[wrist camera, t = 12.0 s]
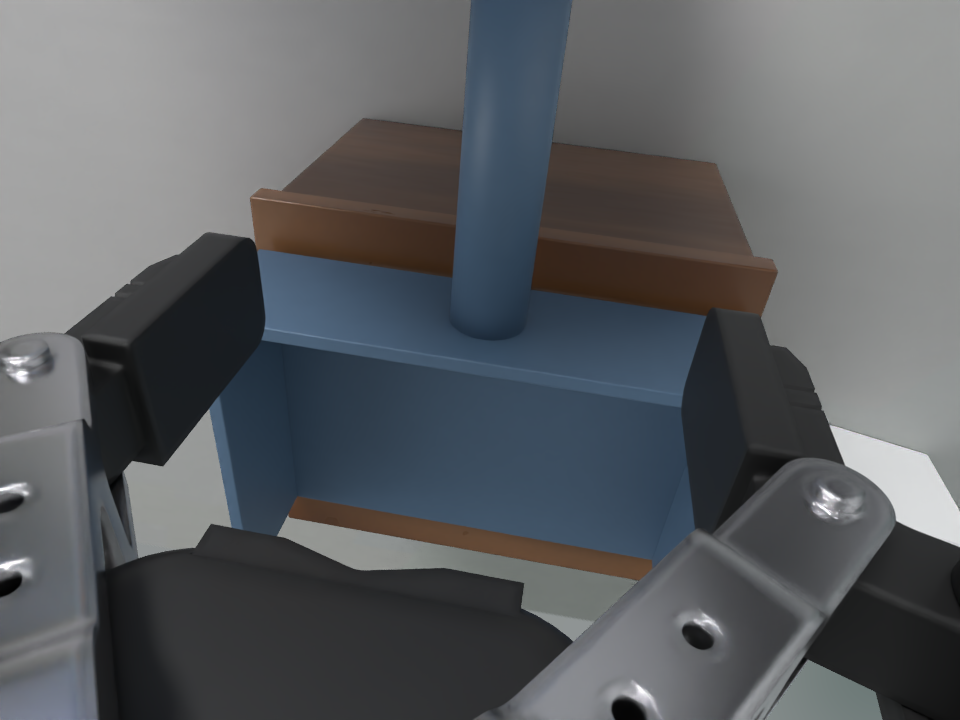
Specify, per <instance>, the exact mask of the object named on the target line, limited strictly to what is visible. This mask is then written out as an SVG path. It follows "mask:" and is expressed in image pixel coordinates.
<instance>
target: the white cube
mask: <svg viewBox="0 0 960 720" xmlns="http://www.w3.org/2000/svg"><path fill="white" fill-rule="evenodd" d="M829 426H830V428H831V431H832V433H833V436H834V438H835V441H836V443H837V446H838V448H839V451H840V453H841V456H842V458H843V461H844V463H845V466H847V467H849V468H851V469H853V470H855V471H857V472H859V473H860V474H862V475H864V476H865V477H867V478H868V479H869V480H871V481H872V482H873V483H875V484H876V485H877V486H878V487H879V488H880V489H881V490H882V491H883V492H884V493H885V495H886V496H887V497H888V499H889V500H890V502H891V503H892V505H893V508H894V510H895V515H896V521H898V522H900V523H901V524H903V525H905V526H908V527H910V528H912V529H915V530H917V531H920V532H922V533H925V534H927V535H930V536H932V537H935V538H937V539H940V540H943V541H945V542H948V543H950V544H953V545H955V546H958V547H960V511H959V509H958V507H957V505H956V504H955V502H954V500H953V498H952V497H951V495H950V493H949V492H948V490H947V488H946V486H945V485H944V483H943V481H942V479H941V478H940V476H939V474H938V472H937V471H936V469H935V467H934V465H933V464H932V462H931V460H930V459H929V457H928V455H927V454H924V453H920V452H917V451H914V450H911V449H907V448H904V447H901V446H898V445H894V444H891V443H888V442H885V441H881V440H878V439H875V438H871V437H868V436H865V435H862V434H858V433H855V432H852V431H849V430H845V429H842V428H839V427H836V426H832V425H829Z"/></svg>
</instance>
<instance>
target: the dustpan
mask: <svg viewBox="0 0 960 720" xmlns="http://www.w3.org/2000/svg"><path fill="white" fill-rule="evenodd" d="M571 6H572V0H471V10H470V25H469V40H468V55H467V70H466V84H465V99H464V114H463V129H462V144H461V159H460V174H459V188H458V203H457V218H456V233H455V248H454V263H453V278H450V277H443V276H436V275H430V274H423V273H416V272H410V271H403V270H396V269H389V268H383V267H376V266H369V265H363V264H356V263H349V262H343V261H336V260H329V259H323V258H316V257H309V256H303V255H296V254H289V253H283V252H276V251H269V250H263V249H259V250H258V251H257V253H258V260H259V268H260V275H261V283H262V291H263V299H264V307H265V316H266V320H265V329H264V333H263V337H262V340H261V342H260V344H259V346H258V347H257V349H256V350H255V351H254V352H253V354H252V355H251V356H250V357H249V359H248V360H247V361H246V362H245V364H244V365H243V366H242V368H241V369H240V370H239V371H238V373H237V374H236V375H235V376H234V378H233V379H232V380H231V381H230V383H229V384H228V385H227V386H226V388H225V389H224V390H223V392H222V393H221V394H220V395H219V397H218V398H217V399H216V400H215V402H214V403H213V404H212V405H211V407H210V408H209V410H210V415H211V420H212V426H213V431H214V436H215V441H216V447H217V452H218V457H219V462H220V468H221V473H222V478H223V484H224V489H225V494H226V499H227V505H228V510H229V515H230V520H231V526H232V528H235V529H240V530H245V531H251V532H256V533H261V534H267V535H272V536H277V534H278V533H279V531H280V529H281V527H282V525H283V523H284V521H285V519H286V517H287V515H288V513H289V511H290V510H291V508H292V506H293V504H294V502H295V500H296V498H297V496H299V497H304V498H310V499H315V500H321V501H327V502H332V503H338V504H343V505H349V506H354V507H360V508H365V509H371V510H377V511H382V512H388V513H393V514H399V515H404V516H410V517H415V518H421V519H427V520H432V521H438V522H443V523H449V524H454V525H460V526H466V527H471V528H477V529H482V530H488V531H493V532H499V533H504V534H510V535H516V536H521V537H527V538H532V539H538V540H543V541H549V542H555V543H560V544H566V545H571V546H577V547H582V548H588V549H593V550H599V551H605V552H610V553H616V554H621V555H627V556H632V557H638V558H644V559H649V560H652V568H653V567H654V566H656V565H657V564H658V563H659V562H660V561H661V560H662V559H663V558H664V557H665V556H666V555H667V554H668V553H670V552H671V551H672V550H673V549H674V548H675V547H676V546H677V545H678V544H679V543H680V542H681V541H682V540H684V539H685V538H686V537H687V536H688V535H689V534H690V533H692V532H693V531H694V530H695V525H694V516H693V508H692V500H691V492H690V484H689V475H688V467H687V459H686V451H685V442H684V434H683V426H682V417H681V406H682V397H683V391H684V386H685V382H686V379H687V376H688V373H689V370H690V366H691V363H692V360H693V357H694V354H695V351H696V347H697V344H698V341H699V338H700V335H701V332H702V328H703V325H704V322H705V319H706V317H707V316H703V315H697V314H690V313H683V312H677V311H670V310H663V309H657V308H650V307H643V306H637V305H630V304H623V303H617V302H610V301H603V300H596V299H590V298H583V297H576V296H570V295H563V294H556V293H550V292H543V291H536V290H531V284H532V277H533V270H534V263H535V256H536V249H537V242H538V235H539V228H540V221H541V214H542V207H543V200H544V193H545V187H546V180H547V173H548V166H549V159H550V152H551V145H552V138H553V131H554V124H555V117H556V110H557V103H558V96H559V89H560V82H561V75H562V68H563V61H564V55H565V48H566V41H567V34H568V27H569V20H570V13H571Z"/></svg>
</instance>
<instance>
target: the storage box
mask: <svg viewBox="0 0 960 720" xmlns="http://www.w3.org/2000/svg"><path fill="white" fill-rule="evenodd" d="M461 144H462V131H458V130H450V129H443V128H435V127H427V126H419V125H411V124H404V123H396V122H388V121H380V120H373V119H365V118H363V119H362V120H360V121H359V122H358V123H357V124H356V125H355V126H354V127H353V128H351V129H350V130H349V131H348V132H347V133H346V134H345V135H344V136H342V137H341V138H340V139H339V140H338V141H337V142H336V143H335V144H333V145H332V146H331V147H330V148H329V149H328V150H327V151H326V152H324V153H323V154H322V155H321V156H320V157H319V158H318V159H317V160H315V161H314V162H313V163H312V164H311V165H310V166H309V167H308V168H306V169H305V170H304V171H303V172H302V173H301V174H300V175H299V176H297V177H296V178H295V179H294V180H293V181H292V182H291V183H290V184H288V185H287V186H286V187H285V188H284V189H283V190H282V191H278V190H271V189H264V188H261V189H259V190H258V191H257V192H256V193H255V194H253V195H252V196H251V197H250V202H251V210H252V218H253V226H254V235H255V243H256V248H257V251H258V250H259V249H263V250H269V251H276V252H283V253H289V254H296V255H303V256H309V257H316V258H323V259H329V260H336V261H343V262H349V263H356V264H363V265H369V266H376V267H383V268H389V269H396V270H403V271H410V272H416V273H423V274H430V275H436V276H443V277H450V278H453V263H454V248H455V233H456V218H457V203H458V188H459V174H460V159H461ZM777 273H778V270H777V268H776V266H775V264H774V261H773V260H772V259H768V258H760V257H754V256H753V254H752V251H751V249H750V246H749V244H748V242H747V239H746V237H745V234H744V232H743V229H742V227H741V224H740V222H739V219H738V217H737V215H736V212H735V210H734V207H733V205H732V202H731V200H730V197H729V195H728V192H727V190H726V188H725V185H724V183H723V180H722V178H721V175H720V173H719V170H718V168H717V165H716V164H715V163H708V162H700V161H692V160H684V159H676V158H669V157H661V156H653V155H645V154H637V153H630V152H622V151H614V150H606V149H598V148H591V147H583V146H575V145H567V144H560V143H552V145H551V152H550V159H549V166H548V173H547V180H546V187H545V193H544V200H543V207H542V214H541V221H540V228H539V235H538V242H537V249H536V256H535V263H534V270H533V277H532V284H531V290H536V291H543V292H550V293H556V294H563V295H570V296H576V297H583V298H590V299H596V300H603V301H610V302H617V303H623V304H630V305H637V306H643V307H650V308H657V309H663V310H670V311H677V312H683V313H690V314H697V315H703V316H707V314H708V312H709V311H710V309H711V308H713V307H715V308H721V309H728V310H735V311H742V312H749V313H755V314H759V316H760V318H761V316H762V313H763V311H764V308H765V305H766V303H767V300H768V297H769V295H770V292H771V289H772V287H773V284H774V281H775V279H776V276H777ZM288 516H289V517H290V518H295V519H301V520H306V521H312V522H317V523H323V524H328V525H334V526H339V527H345V528H351V529H356V530H362V531H367V532H373V533H378V534H384V535H389V536H395V537H400V538H406V539H412V540H417V541H423V542H428V543H434V544H439V545H445V546H450V547H456V548H461V549H467V550H472V551H478V552H484V553H489V554H495V555H500V556H506V557H511V558H517V559H522V560H528V561H533V562H539V563H545V564H550V565H556V566H561V567H567V568H572V569H578V570H583V571H589V572H594V573H600V574H606V575H611V576H617V577H622V578H628V579H633V580H640V579H642V578H643V577H644V576H645V575H646V574H647V573H648V572H649V571H650V570H651V569H652V560H649V559H644V558H638V557H632V556H627V555H621V554H616V553H610V552H605V551H599V550H593V549H588V548H582V547H577V546H571V545H566V544H560V543H555V542H549V541H543V540H538V539H532V538H527V537H521V536H516V535H510V534H504V533H499V532H493V531H488V530H482V529H477V528H471V527H466V526H460V525H454V524H449V523H443V522H438V521H432V520H427V519H421V518H415V517H410V516H404V515H399V514H393V513H388V512H382V511H377V510H371V509H365V508H360V507H354V506H349V505H343V504H338V503H332V502H327V501H321V500H315V499H310V498H304V497H299V496H297V498H296V500H295V502H294V504H293V506H292V508H291V510H290V511H289V513H288Z"/></svg>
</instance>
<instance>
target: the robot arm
mask: <svg viewBox="0 0 960 720" xmlns="http://www.w3.org/2000/svg"><path fill="white" fill-rule="evenodd" d="M265 320H266V316H265V307H264V299H263V291H262V283H261V275H260V268H259V260H258V253H257V248H256V245H255V243H254V242H253V240H251V239H250V238H245V237H238V236H231V235H225V234H218V233H211V232H208V233H205V234H204V235H202V236H201V237H200V238H199V239H198V240H196V241H195V242H194V243H193V244H192V245H190V246H189V247H188V248H187V249H186V250H184V251H183V252H182V253H181V254H179V255H175V256H172V257H170V258H167V259H165V260H163V261H160V262H158V263H155V264H153V265H151V266H149V267H147V268H146V269H145V270H144V271H142V272H141V273H140V274H139V275H137V276H136V277H135V278H134V279H132V280H131V283H130V284H126V285H125V286H124V287H122V288H121V289H120V290H119V291H117V292H116V293H115V297H112V296H111V297H110V298H109V299H107V300H106V301H105V302H104V303H102V304H101V305H100V306H99V307H97V308H96V309H95V310H93V311H92V312H91V313H90V314H88V315H87V316H86V317H85V318H83V319H82V320H81V321H80V322H78V323H77V324H76V325H75V326H73V327H72V328H71V329H70V330H68V331H67V332H66V333H65V334H62V333H53V332H43V333H32V334H26V335H21V336H17V337H14V338H10V339H7V340H5V341H2V342H0V720H766V719H767V718H768V716H769V715H770V714H771V712H772V711H773V710H774V708H775V707H776V705H777V704H778V703H779V701H780V700H781V698H782V697H783V696H784V694H785V693H786V691H787V690H788V689H789V687H790V686H791V684H792V683H793V682H794V680H795V679H796V677H797V676H798V674H799V673H800V672H801V670H802V669H803V667H804V666H805V665H806V663H807V662H808V660H810V661H812V662H814V663H817V664H819V665H821V666H823V667H825V668H827V669H829V670H831V671H833V672H835V673H837V674H840V675H842V676H844V677H846V678H848V679H850V680H852V681H854V682H856V683H858V684H861V685H863V686H865V687H867V688H869V689H871V690H873V691H875V692H876V695H877V699H878V703H879V707H880V711H881V715H882V719H883V720H960V547H958V546H955V545H953V544H950V543H948V542H945V541H943V540H940V539H937V538H935V537H932V536H930V535H927V534H925V533H922V532H920V531H917V530H915V529H912V528H910V527H908V526H905V525H903V524H901V523H900V522H898V521H896V515H895V510H894V508H893V505H892V503H891V502H890V500H889V499H888V497H887V496H886V495H885V493H884V492H883V491H882V490H881V489H880V488H879V487H878V486H877V485H876V484H875V483H873V482H872V481H871V480H869V479H868V478H867V477H865V476H864V475H862V474H860V473H859V472H857V471H855V470H853V469H851V468H849V467H847V466H845V463H844V461H843V458H842V456H841V453H840V451H839V448H838V446H837V443H836V441H835V438H834V436H833V433H832V431H831V428H830V426H829V423H828V421H827V418H826V416H825V413H824V411H822V410H821V407H822V406H821V403H820V401H819V398H818V396H817V393H814V390H815V388H814V385H813V383H812V380H811V378H810V375H809V373H808V370H807V368H806V367H805V366H804V365H803V364H802V363H801V362H800V361H799V360H798V359H797V358H796V357H795V356H794V355H793V354H792V353H791V352H790V351H789V350H788V349H787V348H785V347H778V346H771V345H770V344H769V341H768V338H767V335H766V332H765V329H764V326H763V323H762V320H761V318H760V316H759V314H755V313H749V312H742V311H735V310H728V309H721V308H715V307H713V308H711V309H710V311H709V312H708V314H707V317H706V319H705V322H704V325H703V328H702V332H701V335H700V338H699V341H698V344H697V347H696V351H695V354H694V357H693V360H692V363H691V366H690V370H689V373H688V376H687V379H686V382H685V386H684V391H683V397H682V406H681V417H682V426H683V434H684V442H685V451H686V459H687V467H688V475H689V484H690V492H691V500H692V508H693V516H694V525H695V530H694V531H693V532H692V533H690V534H689V535H688V536H687V537H686V538H685V539H684V540H682V541H681V542H680V543H679V544H678V545H677V546H676V547H675V548H674V549H673V550H672V551H671V552H670V553H668V554H667V555H666V556H665V557H664V558H663V559H662V560H661V561H660V562H659V563H658V564H657V565H656V566H654V567H653V568H652V569H651V570H650V571H649V572H648V573H647V574H646V575H645V576H644V577H643V578H642V579H640V580H639V581H638V582H637V583H636V584H635V585H634V586H633V587H632V588H631V589H630V590H629V591H628V592H626V593H625V594H624V595H623V596H622V597H621V598H620V599H619V600H618V601H617V602H616V603H615V604H614V605H612V606H611V607H610V608H609V609H608V610H607V611H606V612H605V613H604V614H603V615H602V616H601V617H600V618H598V619H597V620H596V621H595V622H594V623H593V624H592V625H591V626H590V627H589V628H588V629H587V630H586V631H584V632H583V633H582V634H581V635H580V636H579V637H578V638H577V639H576V640H575V641H574V642H573V641H572V640H571V639H570V638H569V637H567V636H566V635H565V634H563V633H562V632H561V631H560V630H558V629H557V628H556V627H554V626H553V625H551V624H550V623H548V622H546V621H544V620H543V619H541V618H540V617H538V616H536V615H534V614H532V613H530V612H528V611H526V610H523V609H521V603H522V595H523V588H524V583H521V582H515V581H510V580H505V579H499V578H494V577H489V576H484V575H478V574H473V573H468V572H462V571H457V570H452V569H446V568H434V569H402V570H370V571H364V570H356V569H353V568H350V567H348V566H345V565H343V564H341V563H339V562H337V561H334V560H332V559H330V558H328V557H326V556H323V555H321V554H319V553H317V552H315V551H313V550H310V549H308V548H306V547H304V546H302V545H299V544H297V543H295V542H293V541H291V540H289V539H286V538H282V537H277V536H272V535H267V534H261V533H256V532H251V531H245V530H240V529H235V528H230V527H224V526H219V525H214V524H211V525H210V526H209V528H208V529H207V531H206V532H205V534H204V536H203V537H202V539H201V540H200V542H199V543H198V545H197V546H196V548H186V549H179V550H172V551H165V552H161V553H157V554H152V555H148V556H145V557H142V558H139V559H138V552H137V545H136V538H135V531H134V524H133V517H132V511H131V504H130V497H129V490H128V484H127V481H126V477H125V474H124V470H125V469H126V467H127V466H128V465H129V464H130V463H131V461H136V462H142V463H147V464H153V465H158V466H164V465H165V463H166V462H167V461H168V460H169V458H170V457H171V456H172V455H173V453H174V452H175V451H176V450H177V448H178V447H179V446H180V445H181V443H182V442H183V441H184V439H185V438H186V437H187V436H188V434H189V433H190V432H191V431H192V429H193V428H194V427H195V426H196V424H197V423H198V422H199V421H200V419H201V418H202V417H203V415H204V414H205V413H206V412H207V410H208V409H209V408H210V407H211V405H212V404H213V403H214V402H215V400H216V399H217V398H218V397H219V395H220V394H221V393H222V392H223V390H224V389H225V388H226V386H227V385H228V384H229V383H230V381H231V380H232V379H233V378H234V376H235V375H236V374H237V373H238V371H239V370H240V369H241V368H242V366H243V365H244V364H245V362H246V361H247V360H248V359H249V357H250V356H251V355H252V354H253V352H254V351H255V350H256V349H257V347H258V346H259V344H260V342H261V340H262V337H263V333H264V329H265Z"/></svg>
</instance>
